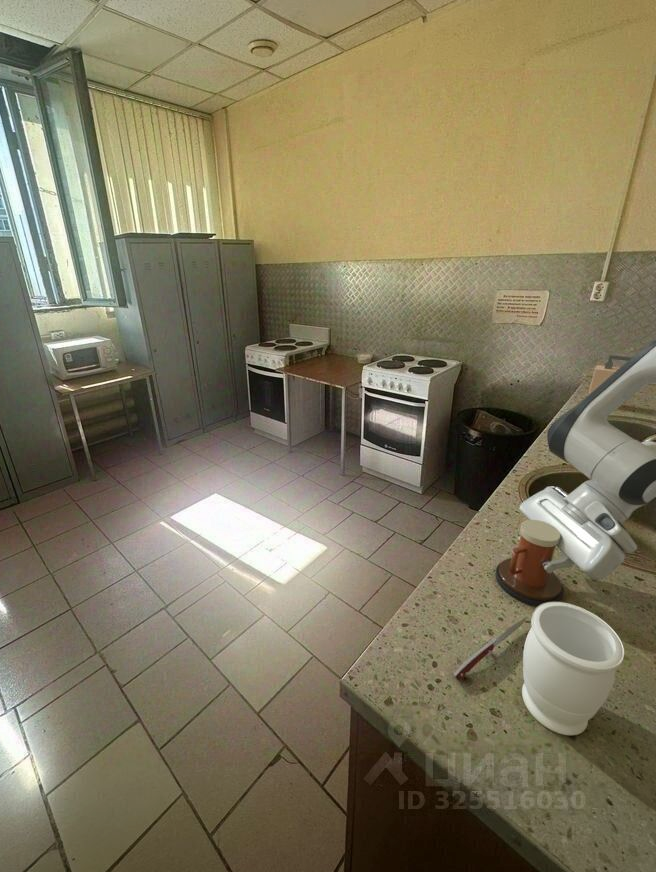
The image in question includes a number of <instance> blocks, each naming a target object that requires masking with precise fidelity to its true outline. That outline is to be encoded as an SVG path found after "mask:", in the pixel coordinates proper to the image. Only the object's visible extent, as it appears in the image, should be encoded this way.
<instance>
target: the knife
mask: <svg viewBox="0 0 656 872" xmlns="http://www.w3.org/2000/svg"><path fill="white" fill-rule="evenodd" d="M527 619H528V616H526V617H524V618H523V619H521V620H520V621H518V622H516V623H515V624H513V625H510V627H508V628H507V629H506V630H505V631H504V632H503V633H502V634H500V635H499V636H497V637H493V638H492V639H491V640H489V641H487V642H486V643H485V644H483V645H482V646H481V647H480V648H478V649H477V650H476V651H475V652H474V653H473V654H472V655H471V656H469V657H468V658H467V659H466V660H465V661H464V662H462V663H461V665H460V666H459V667H458V668H457V669H456V670H455V671H454V672H453V673H452V676H453V677H454V678H455V679H456V680H457V681H459V682H460V681H462V679H463V678H465V676H467V674H468V673H469V672H470V671H471V670H472V669H473V668H474V667H476V665H477V664H478V663H479V662H480V661H482V660H483V658H485V657H486V656H487V655H488V654H489V655H491V654H493V650H495V647H496V646H498V645H499V644H500V643H502V642H503V641H505V640H506V639H507V638H508V637H510V636H511V635H512V634H513V633H515V632H516V631H517V630H518V629H519V628H520V627H521V626H522V625H523V624H524V623H525V621H526V620H527Z"/></svg>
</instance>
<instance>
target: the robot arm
mask: <svg viewBox="0 0 656 872" xmlns="http://www.w3.org/2000/svg"><path fill="white" fill-rule="evenodd" d="M631 357H632V358H631V359H630V360H628V361H626V362H624V363H623V365H621V366H620V367H618V368H619V369H618V370H617V371H616V372H614V373H613V374H612V375H611V376H610V377H609V378H608V379H606V380H605V381H604V382H603V383H602V384H601V385H600V386H598V387H597V388H596V389H595V390H594V391H593V392H592V393H590V394H589V393H588V394H589V395H586V396H585V398H583V399H582V400H581V401H580V402H579V403H577V404H576V405H575V406H573V407H572V408H570V409H568V410H567V411H566V412H564V413H563V414H561V416H559V417H558V418H557V419H555V420H554V421H553V422H552V423H551V424H550V425H549V428H548V429H547V433H546V435H547V437H546V438H547V439H546V441H547V446H548V449H549V452H550V453H551V454H553V455H555V456H556V457H558V458H560V459H561V460H562V461H563V462H565V463H567V464H570V466H572V467H573V468H575V469H576V470H577V471H579V472H580V473H581V474H582V475H584V477H586V478H588V480H585V481H584V482H582V483H581V484H580V485H578V486H577V487H576V488H575V489H574V490H573V491H571V492H570V493H568V492H567V491H565V490H564V489H563V488H562V487H560V486H558V485H557V486H553V485H551V486H549V485H548V486H546V487H545V488H543V490H540V491H538V492H537V493H535V494H533V495H532V496H530V497H528V498H526V499H525V500H524V501H523V502H520V503H521V504H519V508H518V509H519V511H520V512H521V514H522V515H524V516H525V517H526V519H527V520H539V521H543V522H546V523H548V524H550V525H552V526H554V527H555V528H556V529H557V530H558V531H559V532H560V540H559V543H558V544H557V545H556V547H557V548H558V549H559V550H560V551H561V552H562V553H561V554H560V555H558V556H559V558H557V559H552V561H550V560H548V559H546V560H545V561H544V562H542V563H541V566H542V567H543V568H544V569H545V570H546V571H547V572H548V573H552V572H553V573H554V572H555V571H556V570H559V569H568V568H571V567H573V565H575V566H576V567H578V568H579V569H580V570H581V571H582V572H583V573H584V574H585V575H586V576H587V577H588V578H589V579H590V580H591V581H592V580H593V581H597V580H598V581H599V580H600V581H601V580H603V579H604V578H606V577H607V576H609V575H610V574H611V573H612V572H614V571H615V570H617V568H618V567H620V566H621V565H622V563H624V561H625V558H626V554H632V553H634V552H636V550H637V549H638V545H637V543H636V542H635V541H634V539H633V537H631V535H630V534H629V533H628V531H627V529H626V527H625V526H624V525H623V523H624V522H625V521H627V520H628V519H629V518H630V517H631V516H632V514H633V513H634V511H636V510H637V509H639V508H641V507H643V506H644V507H645V506H646V505H647V506H648V505H649V504H651V503H653V502H654V501H655V500H656V441H652V440H644V441H642V442H641V441H639V440H638V439H636V438H633V437H631V436H630V435H628V434H627V433H625V432H623V431H622V430H620V429H618V428H617V427H616V426H614V425H613V424H611V423H610V422H609V421H608V418H609V416H610V415H612V414H613V413H614V412H615V411H617V409H619V408H620V407H621V406H622V405H624V404H625V403H626V402H627V401H629V400H630V399H631V398H633V397H634V396H635V395H636V394H637V393H638V392H640V391H641V390H642V389H644V388H645V387H647V386H649V385H651V384H654V383H656V340H654V341H652V342H651V343H649V344H648V345H646V346H645V347H643V348H642V349H641V350H639V351H638V352H637V353H636V354H634V355H633V356H631ZM519 540H520V536H518V537H517V541H518V542H519Z"/></svg>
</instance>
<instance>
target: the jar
mask: <svg viewBox="0 0 656 872" xmlns="http://www.w3.org/2000/svg"><path fill="white" fill-rule="evenodd" d="M530 623H531V624H530V625H531V626H530V629H529V631H528V633H527V636H526V639H525V642H524V645H523V654H522V660H523V661H522V675H523V684H522V687H521V696H522V700H523V702H524V705H525V707H526V708H527V710H528V711H529V713H530V714H531V715H532V717H533V718H534V719H535V720H536V721H538V722H539V724H541V725H542V726H544V727H545V728H547V729H549V730H550V731H552V732H554V733H556V734H560V735H563V736H577V735H580V734H582V733H584V732H585V730H586V729H587V727H588V723H589V720H591V719H592V718H594V716H595V715H596V714H597V713H598V711H599V710H600V709H601V707H602V706H603V705H604V704H605V702H606V701H607V700H608V699H609V697H610V695H611V692H612V690H613V688H614V684H615V680H616V672H617V669H618V668H619V667H620V666H621V664H622V662H623V660H624V656H625V647H624V645H623V643H622V641H621V638H620V637H619V635H618V634H617V633H616V631H615V630H614V629H613V628H612V627H611V626H610V625H609V624H608V623H607V622H606V621H604V620H603V619H602V618H600V617H599V616H598V615H596V614H595V613H593V612H591V611H589V610H588V609H585V608H583V607H580V606H578V605H575V604H573V603H568V602H563V601H560V602H547V603H543V604H541V605H539V606H536V607H535V609H534V610H533V612H532V616H531V620H530Z"/></svg>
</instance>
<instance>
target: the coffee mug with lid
mask: <svg viewBox="0 0 656 872" xmlns="http://www.w3.org/2000/svg"><path fill="white" fill-rule="evenodd" d="M519 533H520V536H519V537H520V540H519V541H518V545H517V547H514V548H513V549H512V553H511V557H509V558H507V559H504V560H502V561H501V562H502V563H501V562H500V563H501V564H500V563H499V564H500V567H499V575H500V577H501V579H502V581H503V582H504V583H505V584H506V585H507V586H508V587H509V588H510V589H512V590H513V591H515V592H516V593H518V594H520V595H522V596H525V597H527V598H531V599H535V600H552V599H554V598H556V597H557V596H558V595H559V594H560V592H561V584H562V583H561V580H560V579H559V577H558V575H556V574H555V572H554V571H553V572H552V573H548V572H547V571H546V570H545V569H544V568H543V567H542V566H541V563H542V562H544V561H545V560H546V559H548V560H550V561H553V560H554V555H555V552H556V547H557V546H556V545H557V544H558V543H559V540H560V532H559V531H558V530H557V529H556V528H555V527H554V526H552V525H550V524H548V523H546V522H543V521H539V520H529V519H525V520H523V521H522V522H521V523H520V527H519Z"/></svg>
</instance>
